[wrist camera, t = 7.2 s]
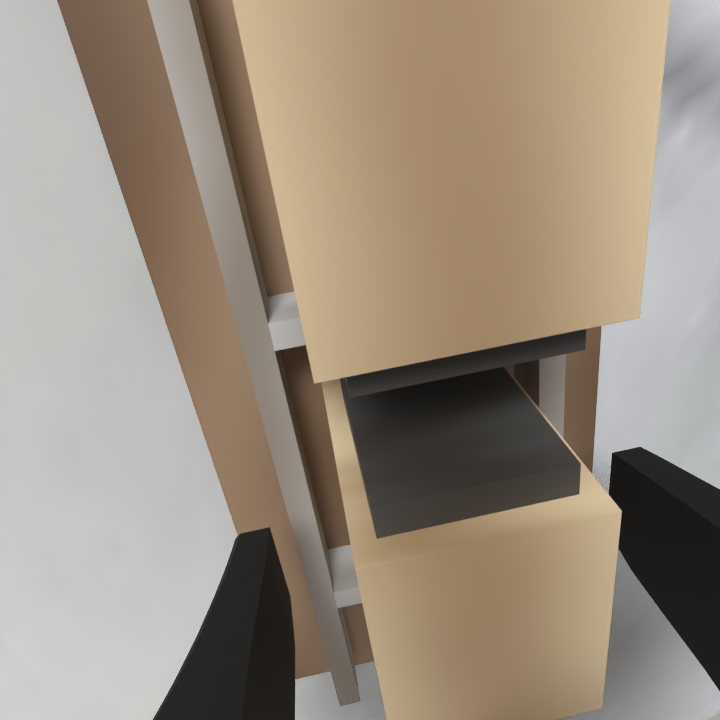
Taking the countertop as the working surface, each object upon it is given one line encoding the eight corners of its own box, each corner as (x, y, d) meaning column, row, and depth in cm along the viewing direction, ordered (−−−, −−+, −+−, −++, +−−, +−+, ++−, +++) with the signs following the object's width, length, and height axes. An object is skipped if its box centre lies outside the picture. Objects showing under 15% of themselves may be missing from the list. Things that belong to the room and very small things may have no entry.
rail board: (596, -156, 11) (1091, -486, 4) (566, 582, 20) (706, 821, 14) (51, -77, 10) (-323, -327, 4) (285, 647, 19) (296, 929, 13)
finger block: (482, 316, 13) (624, 479, 8) (490, 497, 16) (601, 708, 11) (314, 350, 13) (349, 540, 8) (351, 527, 16) (395, 760, 10)
